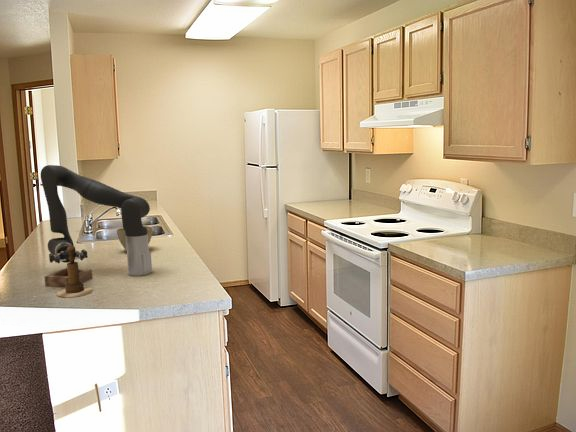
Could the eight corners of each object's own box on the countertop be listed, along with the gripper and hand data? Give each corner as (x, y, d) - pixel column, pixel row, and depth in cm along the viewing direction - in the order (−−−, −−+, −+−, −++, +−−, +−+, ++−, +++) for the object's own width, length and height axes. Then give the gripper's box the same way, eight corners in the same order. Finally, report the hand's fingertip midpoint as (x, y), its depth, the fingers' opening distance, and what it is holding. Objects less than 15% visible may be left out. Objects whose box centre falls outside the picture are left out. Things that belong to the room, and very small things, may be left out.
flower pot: (158, 247, 281) (157, 225, 279) (146, 255, 263) (144, 231, 261) (126, 247, 282) (125, 225, 281) (112, 255, 265) (110, 231, 263)
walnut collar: (92, 278, 220) (91, 269, 219) (71, 287, 207) (70, 277, 206) (67, 277, 223) (66, 268, 223) (45, 286, 210) (44, 276, 210)
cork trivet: (99, 288, 204) (99, 287, 204) (78, 298, 192) (78, 297, 192) (72, 286, 208) (71, 285, 208) (49, 296, 196) (49, 295, 195)
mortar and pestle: (64, 294, 196) (59, 247, 193) (67, 289, 202) (62, 244, 199) (83, 292, 198) (78, 246, 195) (85, 287, 204) (81, 243, 201)
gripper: (45, 245, 213) (49, 252, 199) (82, 241, 220) (88, 247, 206) (47, 263, 214) (51, 271, 201) (84, 258, 221) (90, 265, 207)
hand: (70, 259), depth 203 cm, fingers open, 8 cm apart
